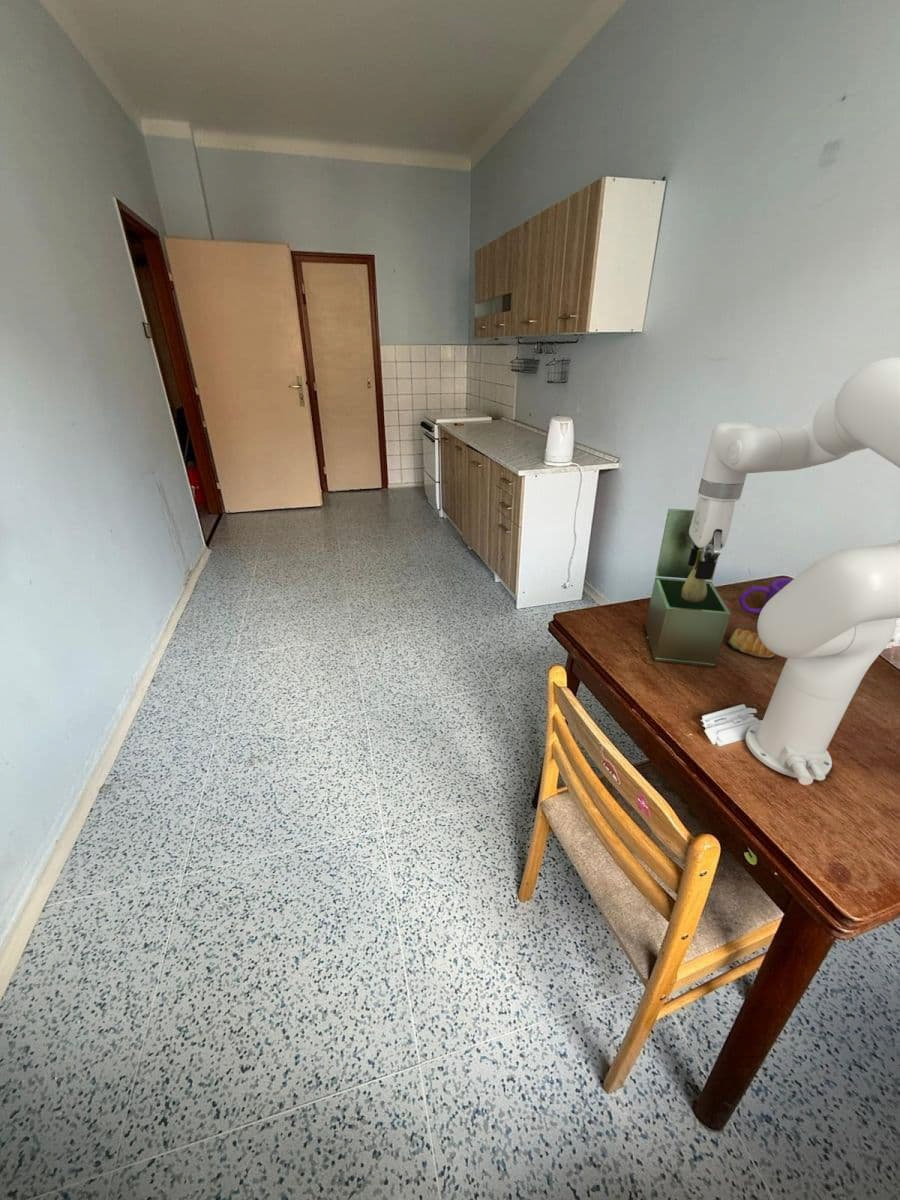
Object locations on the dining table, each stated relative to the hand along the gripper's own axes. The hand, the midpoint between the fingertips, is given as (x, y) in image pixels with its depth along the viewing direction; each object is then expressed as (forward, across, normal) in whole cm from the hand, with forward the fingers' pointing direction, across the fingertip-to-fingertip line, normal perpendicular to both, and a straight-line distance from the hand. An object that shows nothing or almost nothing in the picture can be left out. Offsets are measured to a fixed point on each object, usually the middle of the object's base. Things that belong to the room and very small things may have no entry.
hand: (699, 571), depth 101 cm
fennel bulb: (+7, 0, 0) cm, 7 cm away
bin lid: (-2, -10, 0) cm, 10 cm away
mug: (+21, -19, +26) cm, 38 cm away
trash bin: (+20, -2, 0) cm, 21 cm away
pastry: (+21, -4, +16) cm, 26 cm away
